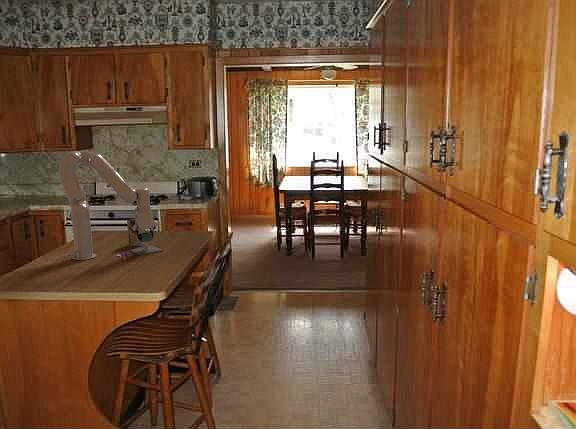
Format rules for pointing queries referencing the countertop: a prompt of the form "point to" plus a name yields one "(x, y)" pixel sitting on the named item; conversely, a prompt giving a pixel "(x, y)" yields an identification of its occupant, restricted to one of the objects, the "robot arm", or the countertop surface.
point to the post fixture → (146, 249)
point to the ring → (146, 236)
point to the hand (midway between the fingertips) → (146, 238)
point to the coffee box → (133, 234)
